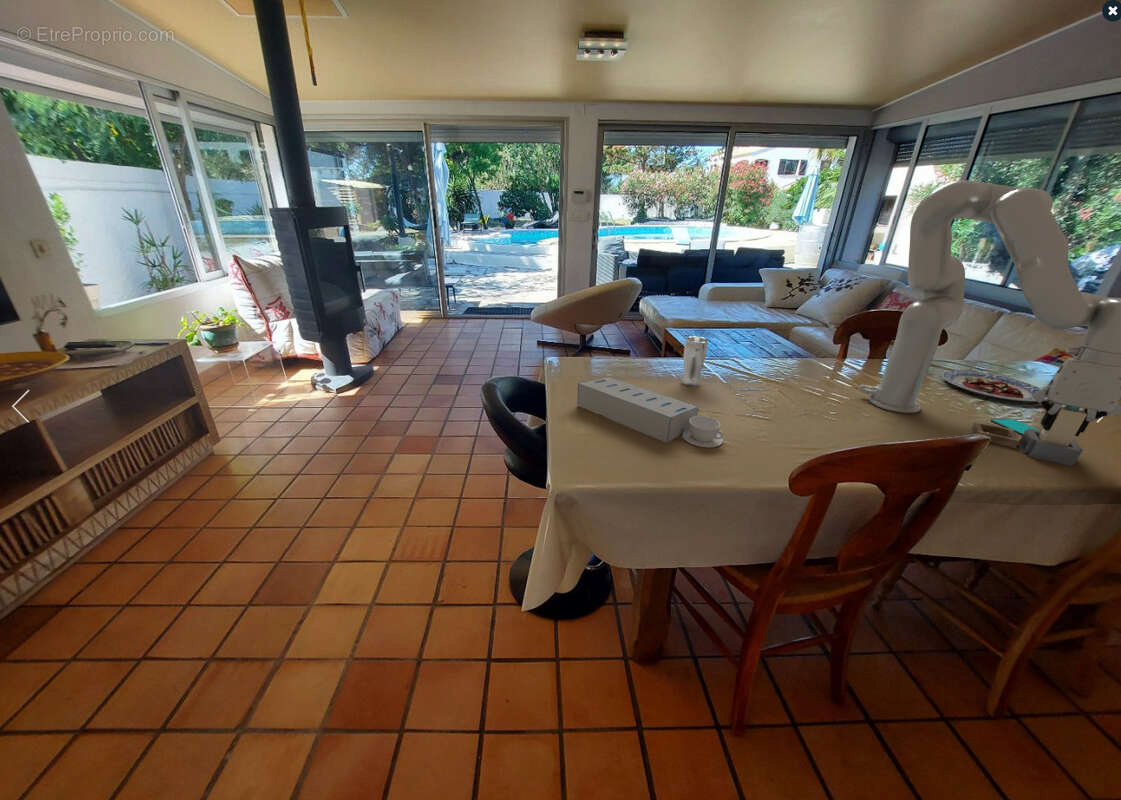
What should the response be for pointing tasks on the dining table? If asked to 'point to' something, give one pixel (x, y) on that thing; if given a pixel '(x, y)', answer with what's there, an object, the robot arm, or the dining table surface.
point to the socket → (1049, 449)
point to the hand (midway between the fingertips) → (1059, 430)
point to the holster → (996, 434)
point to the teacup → (703, 432)
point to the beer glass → (694, 360)
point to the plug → (1064, 425)
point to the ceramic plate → (992, 385)
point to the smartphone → (1013, 425)
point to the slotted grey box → (637, 407)
